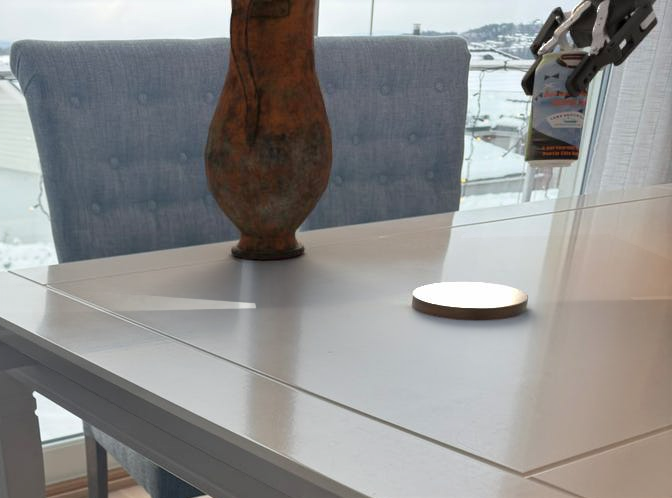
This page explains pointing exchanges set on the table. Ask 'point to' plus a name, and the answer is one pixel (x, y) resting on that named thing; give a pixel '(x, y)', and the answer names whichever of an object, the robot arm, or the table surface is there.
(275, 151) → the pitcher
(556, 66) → the beverage can
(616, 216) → the table surface
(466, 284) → the walnut puck
